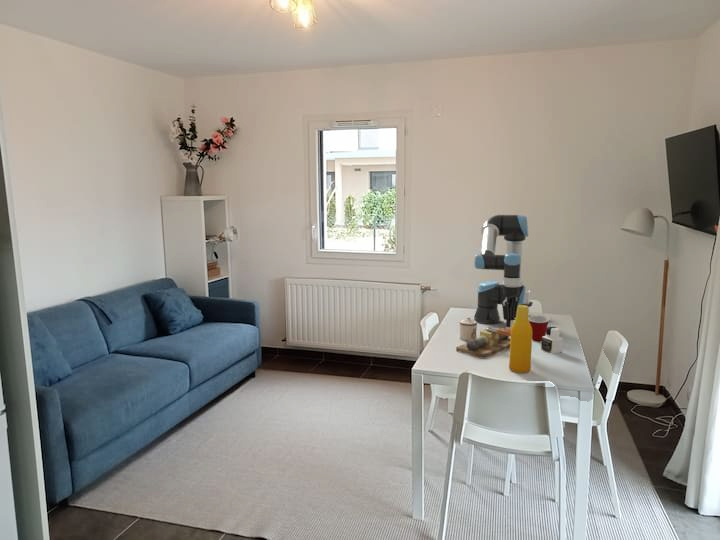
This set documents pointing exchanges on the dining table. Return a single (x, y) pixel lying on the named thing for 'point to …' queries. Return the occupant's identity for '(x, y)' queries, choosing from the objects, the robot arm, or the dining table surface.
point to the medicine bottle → (552, 341)
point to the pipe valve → (485, 344)
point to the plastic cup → (538, 327)
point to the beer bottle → (521, 342)
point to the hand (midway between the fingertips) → (509, 332)
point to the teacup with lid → (468, 329)
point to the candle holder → (527, 300)
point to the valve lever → (500, 331)
